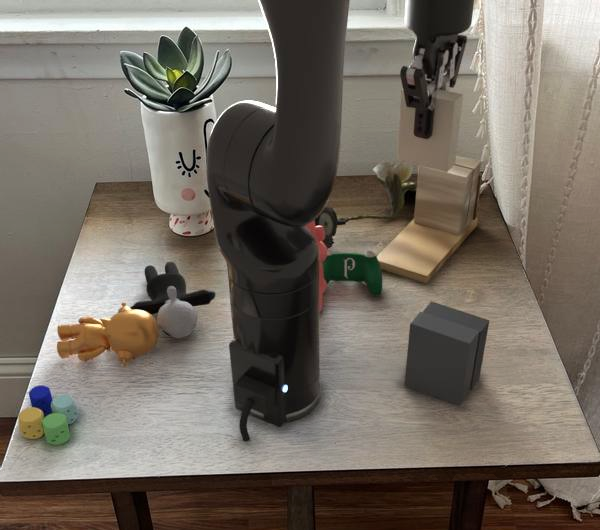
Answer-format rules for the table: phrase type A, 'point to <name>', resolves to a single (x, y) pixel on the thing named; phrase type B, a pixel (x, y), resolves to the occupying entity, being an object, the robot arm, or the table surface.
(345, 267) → the gaming controller
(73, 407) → the multicoloured cylinder cluster
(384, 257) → the book shelf
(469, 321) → the grey books
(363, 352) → the table surface
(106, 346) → the figurine
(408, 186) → the artificial flower
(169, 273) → the figurine
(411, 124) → the cream book
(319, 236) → the figurine
